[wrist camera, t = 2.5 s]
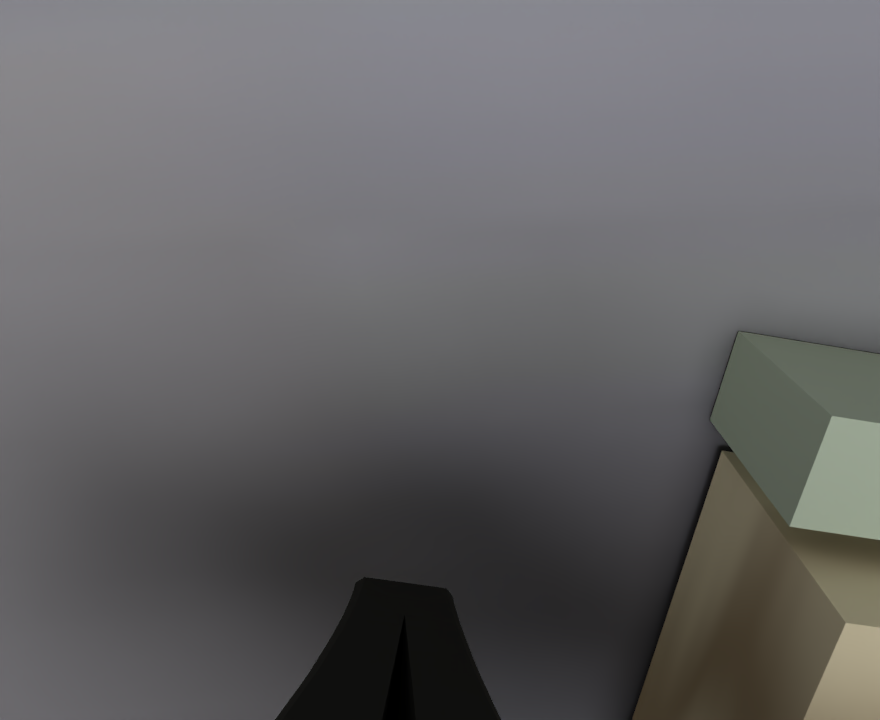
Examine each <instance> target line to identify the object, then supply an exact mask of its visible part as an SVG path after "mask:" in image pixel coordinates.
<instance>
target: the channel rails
mask: <svg viewBox="0 0 880 720" xmlns="http://www.w3.org/2000/svg"><path fill="white" fill-rule="evenodd" d="M710 421H711V422H712V424H713V425H714V426H715V428H716V429H717V430H718V432H719V433H720V434H721V436H722V437H723V438H724V440H725V441H726V442H727V444H728V445H729V446H730V448H731V449H732V450H733V452H734V453H735V454H736V456H737V457H738V458H739V460H740V461H741V462H742V464H743V465H744V466H745V468H746V469H747V470H748V472H749V473H750V474H751V476H752V477H753V479H754V480H755V481H756V483H757V484H758V485H759V487H760V488H761V489H762V491H763V492H764V493H765V495H766V496H767V497H768V499H769V500H770V501H771V503H772V504H773V505H774V507H775V508H776V509H777V511H778V512H779V513H780V515H781V516H782V517H783V519H784V520H785V521H786V523H787V524H788V525H789V527H795V528H802V529H809V530H816V531H822V532H829V533H836V534H842V535H849V536H856V537H862V538H869V539H876V540H880V354H875V353H869V352H863V351H857V350H851V349H845V348H839V347H832V346H826V345H820V344H814V343H808V342H802V341H796V340H789V339H783V338H777V337H771V336H765V335H759V334H753V333H746V332H740V331H738V334H737V337H736V340H735V343H734V347H733V350H732V353H731V356H730V359H729V362H728V365H727V368H726V371H725V374H724V378H723V381H722V384H721V387H720V390H719V393H718V396H717V399H716V402H715V405H714V408H713V412H712V415H711V418H710Z"/></svg>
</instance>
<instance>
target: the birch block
mask: <svg viewBox="0 0 880 720" xmlns="http://www.w3.org/2000/svg"><path fill="white" fill-rule="evenodd" d="M632 720H880V540H876V539H869V538H862V537H856V536H849V535H842V534H836V533H829V532H822V531H816V530H809V529H802V528H795V527H789V525H788V524H787V523H786V521H785V520H784V519H783V517H782V516H781V515H780V513H779V512H778V511H777V509H776V508H775V507H774V505H773V504H772V503H771V501H770V500H769V499H768V497H767V496H766V495H765V493H764V492H763V491H762V489H761V488H760V487H759V485H758V484H757V483H756V481H755V480H754V479H753V477H752V476H751V474H750V473H749V472H748V470H747V469H746V468H745V466H744V465H743V464H742V462H741V461H740V460H739V458H738V457H737V456H736V454H735V453H734V452H728V451H722V452H721V455H720V458H719V461H718V464H717V467H716V470H715V473H714V476H713V479H712V482H711V485H710V488H709V491H708V494H707V497H706V500H705V503H704V506H703V509H702V512H701V515H700V518H699V521H698V524H697V527H696V530H695V533H694V536H693V539H692V542H691V545H690V548H689V551H688V554H687V557H686V560H685V563H684V565H683V568H682V571H681V574H680V577H679V580H678V583H677V586H676V589H675V592H674V595H673V598H672V601H671V604H670V607H669V610H668V613H667V616H666V619H665V622H664V625H663V628H662V631H661V634H660V637H659V640H658V643H657V646H656V649H655V652H654V655H653V658H652V661H651V664H650V667H649V670H648V673H647V676H646V679H645V682H644V685H643V688H642V691H641V694H640V697H639V700H638V703H637V706H636V709H635V712H634V715H633V718H632Z"/></svg>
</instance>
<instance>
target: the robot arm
mask: <svg viewBox="0 0 880 720" xmlns="http://www.w3.org/2000/svg"><path fill="white" fill-rule="evenodd" d="M275 720H501V719H500V717H499V715H498V713H497V711H496V709H495V706H494V704H493V702H492V700H491V698H490V695H489V693H488V691H487V689H486V687H485V685H484V682H483V680H482V678H481V676H480V674H479V671H478V669H477V666H476V664H475V662H474V659H473V657H472V654H471V652H470V649H469V646H468V644H467V641H466V639H465V636H464V633H463V630H462V627H461V625H460V622H459V619H458V615H457V612H456V609H455V605H454V601H453V597H452V595H451V594H450V593H449V591H448V590H447V589H446V588H438V587H431V586H424V585H417V584H409V583H402V582H395V581H388V580H381V579H373V578H366V577H364V578H363V579H361V580H359V581H358V582H356V584H355V588H354V591H353V594H352V597H351V599H350V601H349V604H348V606H347V608H346V610H345V613H344V615H343V617H342V619H341V620H340V622H339V624H338V626H337V628H336V630H335V631H334V633H333V635H332V637H331V639H330V640H329V642H328V644H327V645H326V647H325V648H324V650H323V652H322V653H321V655H320V656H319V658H318V660H317V661H316V663H315V664H314V666H313V667H312V669H311V671H310V672H309V674H308V675H307V677H306V678H305V680H304V681H303V682H302V684H301V685H300V687H299V688H298V689H297V691H296V692H295V693H294V695H293V696H292V698H291V699H290V700H289V702H288V703H287V704H286V706H285V707H284V708H283V710H282V711H281V713H280V714H279V715H278V717H277V718H276V719H275Z"/></svg>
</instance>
